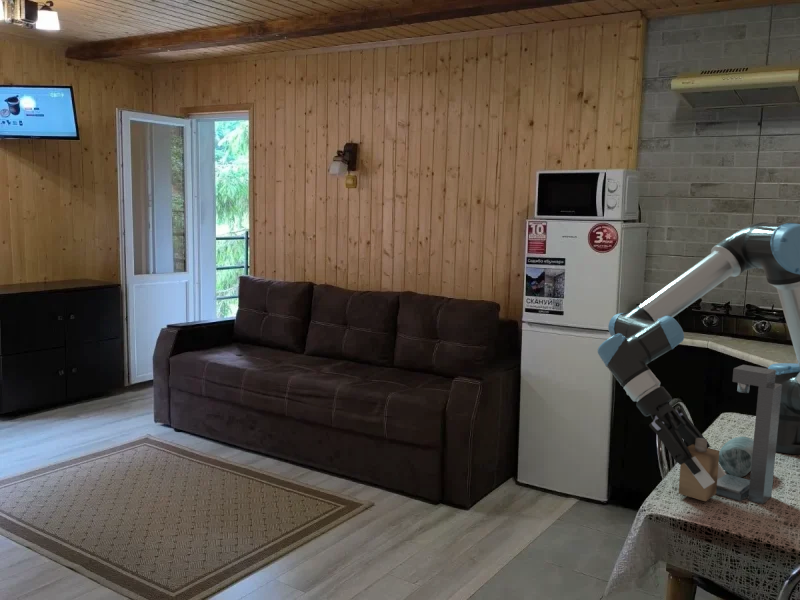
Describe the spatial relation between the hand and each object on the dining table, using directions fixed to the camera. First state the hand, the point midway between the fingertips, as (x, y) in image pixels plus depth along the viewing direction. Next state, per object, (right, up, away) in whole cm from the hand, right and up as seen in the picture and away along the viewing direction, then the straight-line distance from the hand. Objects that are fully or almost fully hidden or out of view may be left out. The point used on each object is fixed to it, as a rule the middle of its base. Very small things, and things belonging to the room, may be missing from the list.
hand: (715, 481), depth 155 cm
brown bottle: (-3, -4, +3) cm, 5 cm away
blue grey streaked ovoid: (+15, -3, +21) cm, 26 cm away
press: (+8, -4, +8) cm, 12 cm away
